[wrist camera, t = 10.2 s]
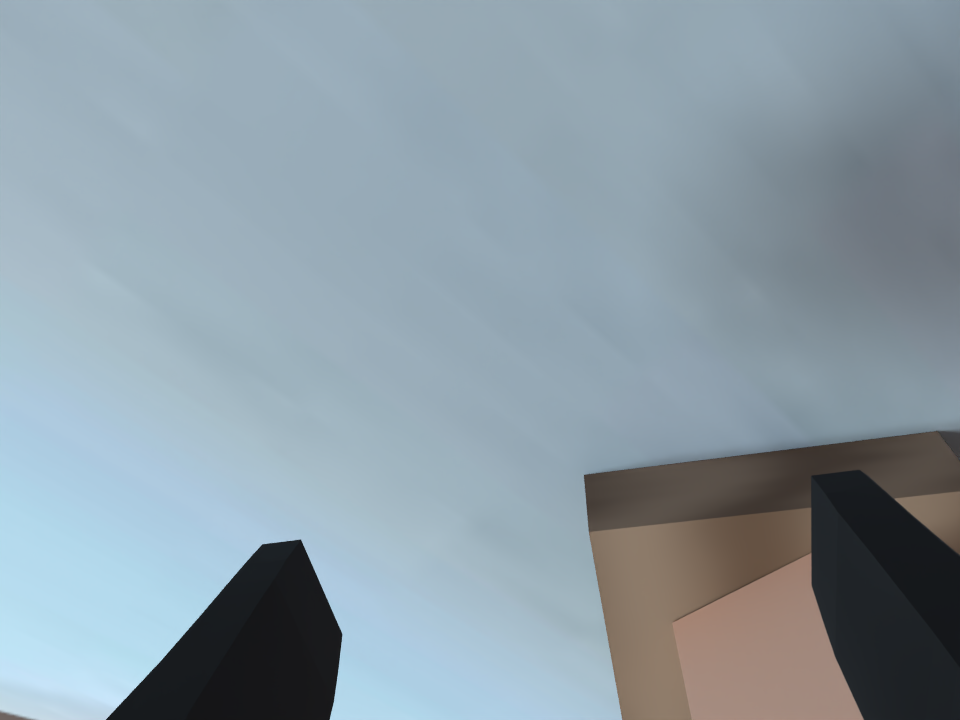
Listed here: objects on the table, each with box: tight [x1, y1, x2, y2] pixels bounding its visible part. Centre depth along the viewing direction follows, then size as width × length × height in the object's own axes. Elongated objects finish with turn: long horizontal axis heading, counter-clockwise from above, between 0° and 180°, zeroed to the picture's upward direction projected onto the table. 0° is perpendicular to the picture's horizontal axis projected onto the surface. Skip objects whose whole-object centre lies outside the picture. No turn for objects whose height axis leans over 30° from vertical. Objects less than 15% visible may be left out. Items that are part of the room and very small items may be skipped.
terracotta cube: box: [672, 553, 864, 720], centre depth 21 cm, size 5×5×5 cm
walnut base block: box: [584, 431, 960, 720], centre depth 24 cm, size 10×10×3 cm
